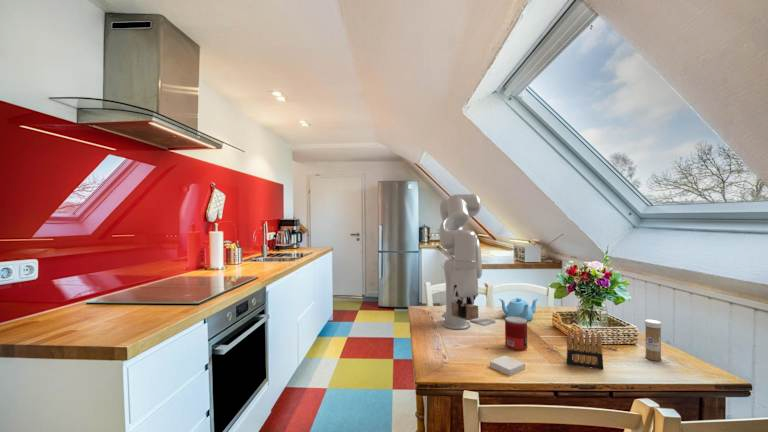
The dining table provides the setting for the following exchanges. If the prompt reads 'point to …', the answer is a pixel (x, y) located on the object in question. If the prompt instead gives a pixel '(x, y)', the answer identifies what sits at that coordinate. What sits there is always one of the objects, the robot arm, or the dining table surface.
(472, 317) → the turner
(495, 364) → the tile
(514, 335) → the canned food
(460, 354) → the dining table surface
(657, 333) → the sprinkles bottle
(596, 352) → the ammunition clip
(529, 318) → the teapot
